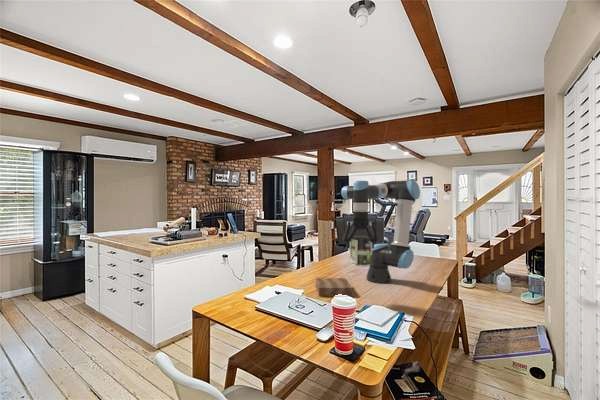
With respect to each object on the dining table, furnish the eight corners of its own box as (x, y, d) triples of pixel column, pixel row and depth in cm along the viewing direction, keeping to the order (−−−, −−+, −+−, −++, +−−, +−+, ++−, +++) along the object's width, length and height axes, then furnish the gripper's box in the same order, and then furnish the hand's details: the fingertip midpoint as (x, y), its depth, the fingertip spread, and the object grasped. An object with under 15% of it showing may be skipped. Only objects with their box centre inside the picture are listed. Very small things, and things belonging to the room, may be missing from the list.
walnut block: (345, 285, 168) (345, 278, 168) (352, 296, 150) (352, 287, 150) (315, 285, 167) (315, 278, 167) (318, 296, 149) (319, 287, 149)
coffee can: (373, 263, 145) (373, 236, 145) (366, 267, 136) (367, 238, 136) (354, 260, 150) (354, 234, 150) (346, 264, 141) (347, 236, 141)
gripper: (379, 210, 147) (379, 253, 148) (337, 210, 146) (336, 253, 146) (385, 211, 140) (384, 256, 140) (340, 211, 138) (339, 256, 139)
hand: (360, 254), depth 143 cm, fingers closed on coffee can, 10 cm apart
